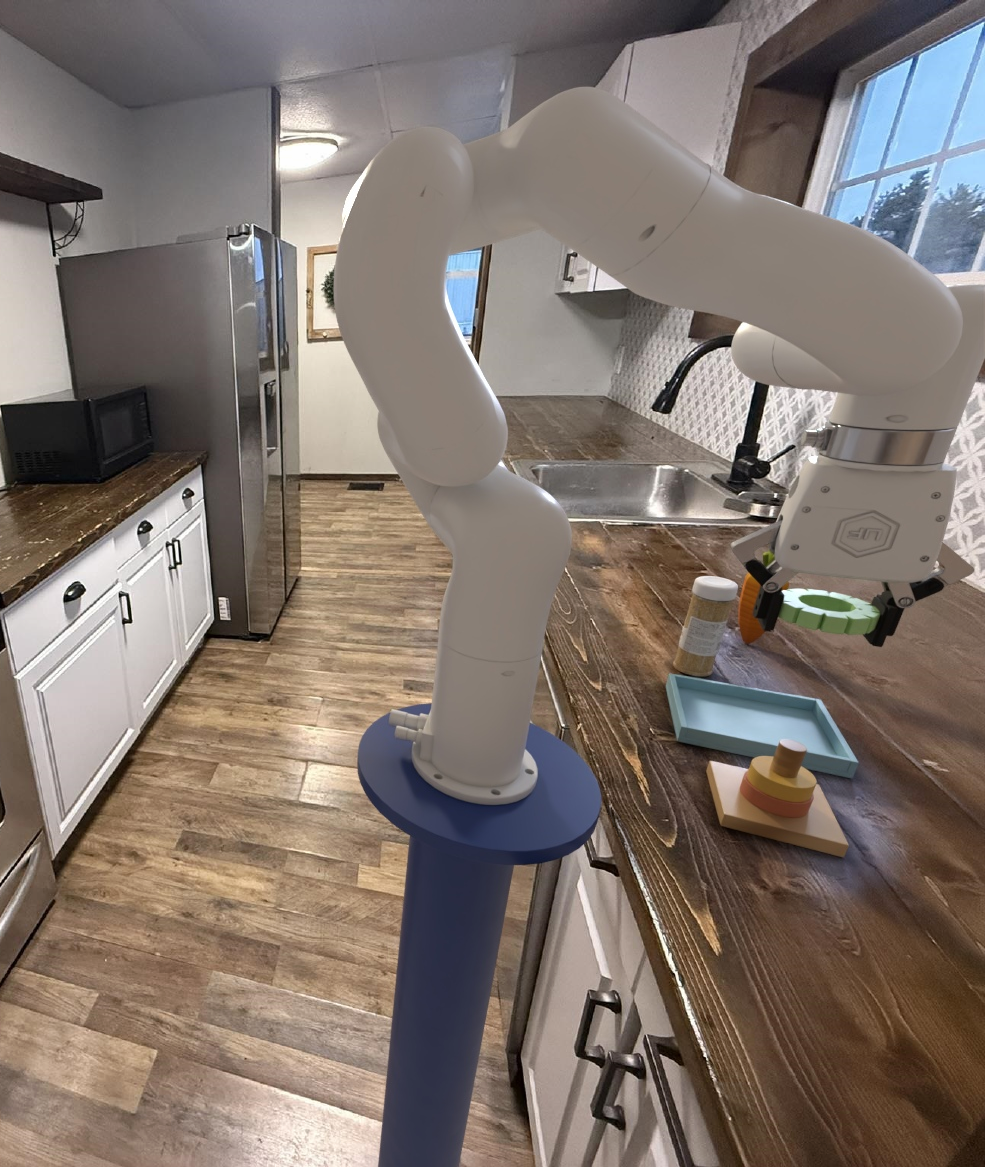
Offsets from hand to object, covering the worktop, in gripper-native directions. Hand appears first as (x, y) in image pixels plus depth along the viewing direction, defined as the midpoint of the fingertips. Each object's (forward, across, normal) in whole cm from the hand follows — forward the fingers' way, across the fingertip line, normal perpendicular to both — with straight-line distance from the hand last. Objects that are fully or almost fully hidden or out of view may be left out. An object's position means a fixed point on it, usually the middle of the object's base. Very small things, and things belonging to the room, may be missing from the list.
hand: (816, 631), depth 60 cm
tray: (+18, 0, +11) cm, 21 cm away
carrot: (+18, +4, +36) cm, 40 cm away
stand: (+18, 0, -5) cm, 19 cm away
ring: (-1, 0, 0) cm, 1 cm away
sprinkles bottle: (+18, -4, +24) cm, 30 cm away
